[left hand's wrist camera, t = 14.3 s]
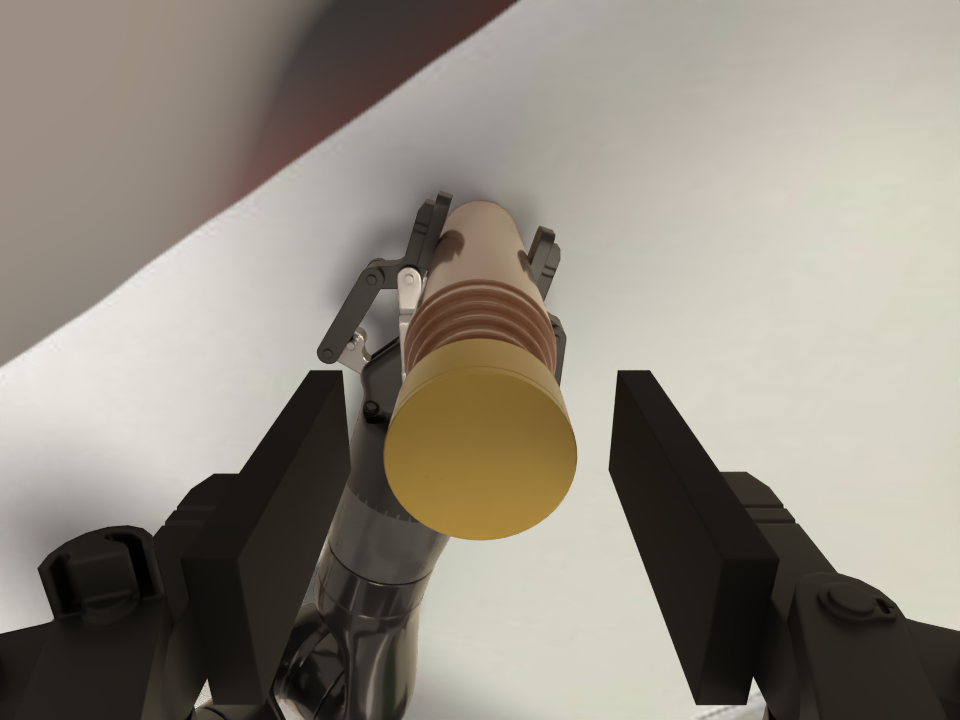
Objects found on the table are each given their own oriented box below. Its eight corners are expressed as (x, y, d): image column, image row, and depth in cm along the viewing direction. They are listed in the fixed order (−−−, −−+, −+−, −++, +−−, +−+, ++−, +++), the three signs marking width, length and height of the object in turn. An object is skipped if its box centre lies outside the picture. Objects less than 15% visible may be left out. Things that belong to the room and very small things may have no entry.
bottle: (521, 273, 38) (592, 530, 14) (446, 281, 38) (389, 547, 14) (515, 196, 36) (584, 338, 12) (436, 204, 36) (353, 360, 12)
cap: (567, 335, 14) (580, 369, 12) (562, 487, 15) (573, 539, 13) (389, 339, 14) (374, 374, 12) (402, 490, 15) (390, 542, 14)
